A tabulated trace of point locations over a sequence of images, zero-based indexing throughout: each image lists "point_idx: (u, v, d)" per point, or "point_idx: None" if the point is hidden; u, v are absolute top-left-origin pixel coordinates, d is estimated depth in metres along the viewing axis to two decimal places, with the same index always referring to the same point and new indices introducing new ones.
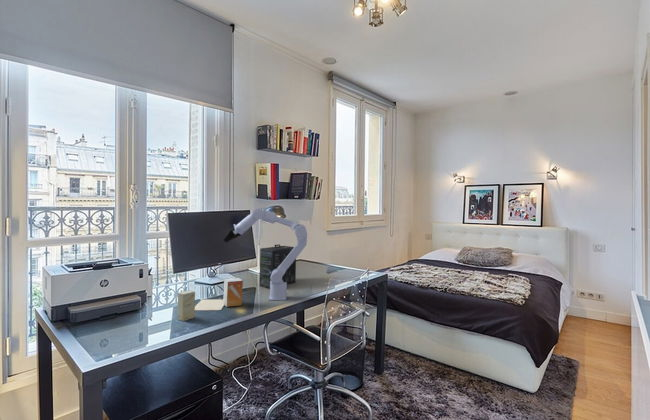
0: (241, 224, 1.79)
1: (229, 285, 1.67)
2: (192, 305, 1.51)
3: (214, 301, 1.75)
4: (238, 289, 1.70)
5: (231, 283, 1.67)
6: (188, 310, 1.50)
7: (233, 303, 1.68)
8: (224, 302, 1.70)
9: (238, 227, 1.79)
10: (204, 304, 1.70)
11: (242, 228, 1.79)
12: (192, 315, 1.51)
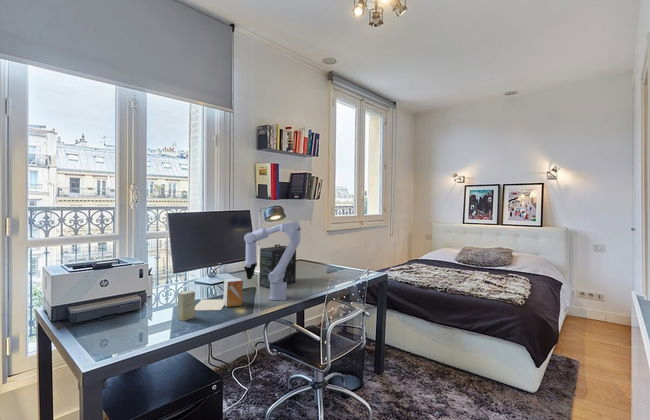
0: (247, 256, 1.84)
1: (229, 285, 1.67)
2: (192, 305, 1.51)
3: (214, 301, 1.75)
4: (238, 289, 1.70)
5: (231, 283, 1.67)
6: (188, 310, 1.50)
7: (233, 303, 1.68)
8: (224, 302, 1.70)
9: (248, 260, 1.84)
10: (204, 304, 1.70)
11: (251, 258, 1.85)
12: (192, 315, 1.51)
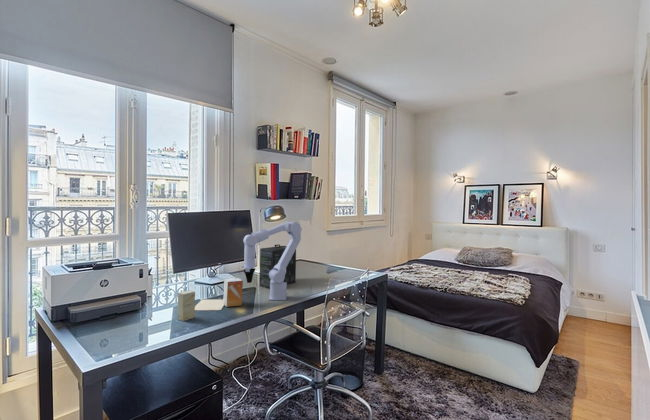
0: (246, 260, 1.74)
1: (229, 285, 1.67)
2: (192, 305, 1.51)
3: (214, 301, 1.75)
4: (238, 289, 1.70)
5: (231, 283, 1.67)
6: (188, 310, 1.50)
7: (233, 303, 1.68)
8: (224, 302, 1.70)
9: (246, 264, 1.74)
10: (204, 304, 1.70)
11: (250, 262, 1.74)
12: (192, 315, 1.51)
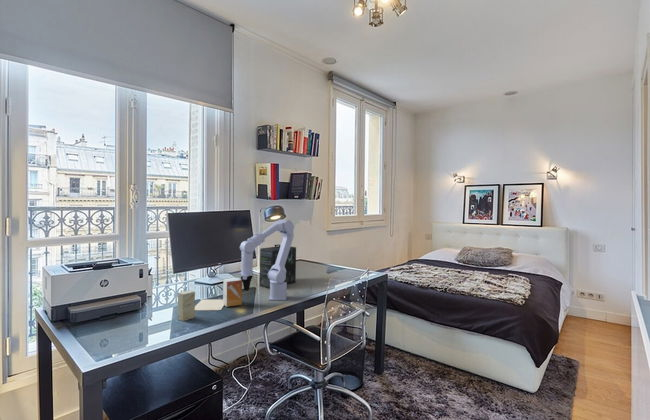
0: (243, 267, 1.69)
1: (229, 285, 1.67)
2: (192, 305, 1.51)
3: (214, 301, 1.75)
4: (238, 289, 1.70)
5: (230, 283, 1.67)
6: (188, 310, 1.50)
7: (233, 302, 1.68)
8: (224, 302, 1.70)
9: (244, 272, 1.69)
10: (204, 304, 1.70)
11: (247, 269, 1.69)
12: (192, 315, 1.51)
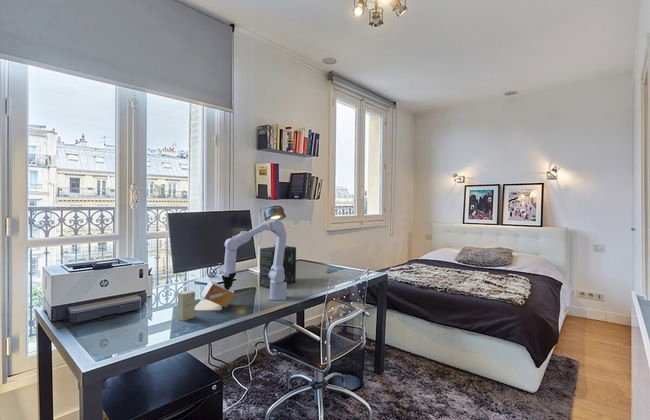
0: (226, 264, 1.68)
1: (209, 297, 1.61)
2: (192, 305, 1.51)
3: None
4: (218, 291, 1.63)
5: (207, 295, 1.61)
6: (188, 310, 1.50)
7: (227, 300, 1.66)
8: None
9: (226, 269, 1.67)
10: (204, 304, 1.70)
11: (230, 267, 1.68)
12: (192, 315, 1.51)
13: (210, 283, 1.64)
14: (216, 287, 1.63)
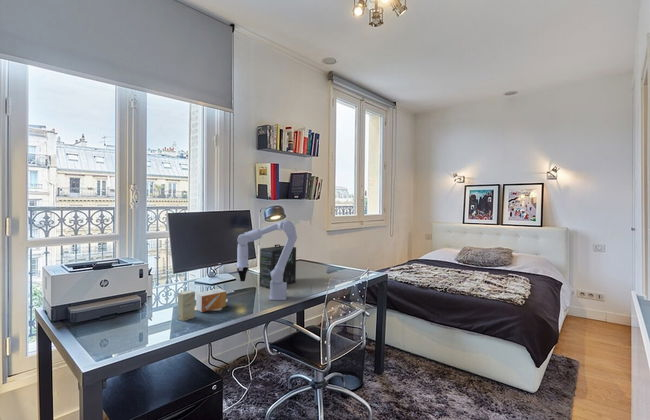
0: (239, 259, 1.77)
1: (205, 309, 1.60)
2: (192, 305, 1.51)
3: None
4: (210, 298, 1.61)
5: (203, 308, 1.59)
6: (188, 310, 1.50)
7: (223, 300, 1.66)
8: None
9: (240, 263, 1.77)
10: None
11: (243, 261, 1.77)
12: (192, 315, 1.51)
13: (199, 296, 1.60)
14: (206, 297, 1.60)
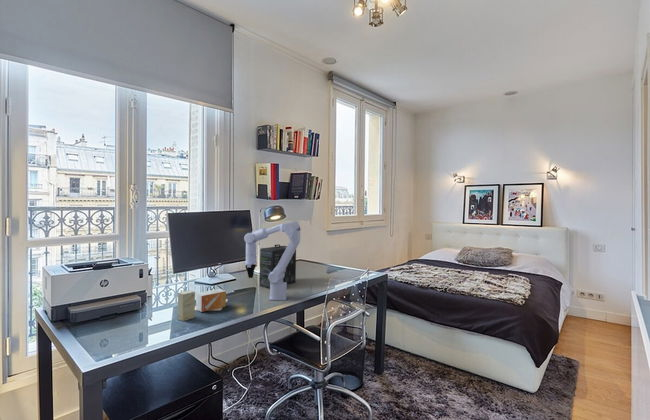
0: (248, 256, 1.85)
1: (205, 308, 1.60)
2: (192, 305, 1.51)
3: None
4: (210, 298, 1.61)
5: (203, 307, 1.59)
6: (188, 310, 1.50)
7: (223, 300, 1.66)
8: None
9: (248, 260, 1.85)
10: None
11: (251, 258, 1.85)
12: (192, 315, 1.51)
13: (198, 296, 1.60)
14: (206, 296, 1.60)
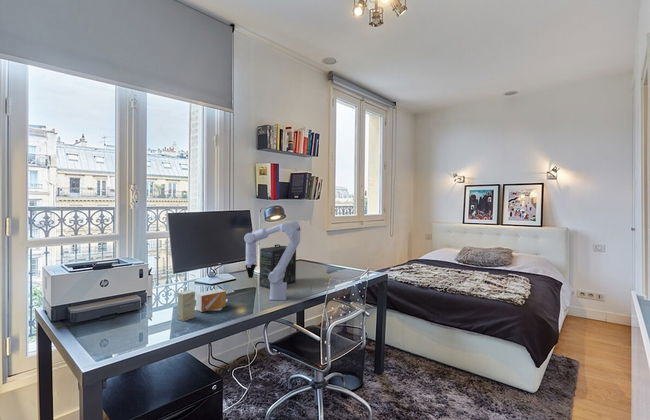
0: (248, 256, 1.85)
1: (205, 308, 1.60)
2: (192, 305, 1.51)
3: None
4: (210, 298, 1.61)
5: (203, 307, 1.59)
6: (188, 310, 1.50)
7: (223, 300, 1.66)
8: None
9: (248, 260, 1.85)
10: None
11: (251, 258, 1.85)
12: (192, 315, 1.51)
13: (198, 296, 1.60)
14: (206, 296, 1.60)
